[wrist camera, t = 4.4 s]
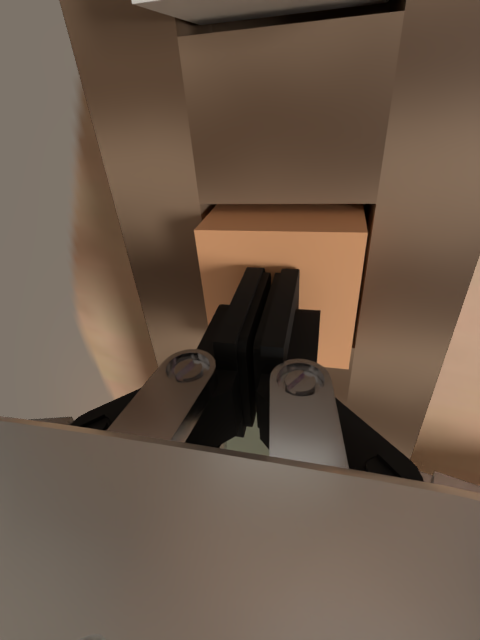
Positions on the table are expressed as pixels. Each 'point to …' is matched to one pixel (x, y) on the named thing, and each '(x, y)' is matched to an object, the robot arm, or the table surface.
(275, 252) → the tan block
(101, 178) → the table surface
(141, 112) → the console
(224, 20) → the grey button
